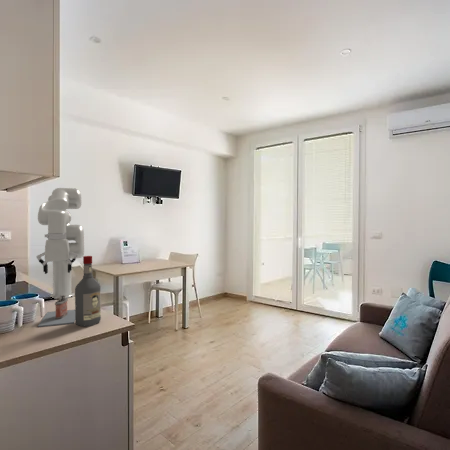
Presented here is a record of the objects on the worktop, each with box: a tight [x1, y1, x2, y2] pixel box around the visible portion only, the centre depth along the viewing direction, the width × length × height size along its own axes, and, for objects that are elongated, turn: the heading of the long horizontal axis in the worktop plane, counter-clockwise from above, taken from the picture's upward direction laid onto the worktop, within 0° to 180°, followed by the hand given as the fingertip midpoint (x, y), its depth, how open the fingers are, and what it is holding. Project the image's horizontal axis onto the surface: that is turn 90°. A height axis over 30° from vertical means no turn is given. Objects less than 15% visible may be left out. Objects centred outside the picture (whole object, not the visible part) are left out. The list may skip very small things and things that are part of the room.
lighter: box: [54, 295, 69, 319], centre depth 147 cm, size 8×3×10 cm, turn 0°
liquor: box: [74, 255, 102, 328], centre depth 140 cm, size 9×9×30 cm
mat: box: [37, 309, 75, 328], centre depth 147 cm, size 20×14×1 cm
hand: (57, 272), depth 149 cm, fingers open, 9 cm apart
